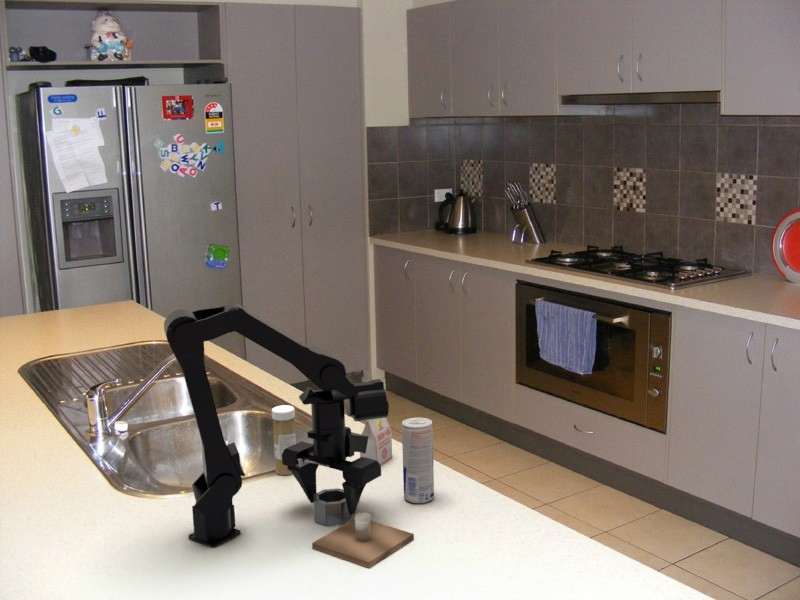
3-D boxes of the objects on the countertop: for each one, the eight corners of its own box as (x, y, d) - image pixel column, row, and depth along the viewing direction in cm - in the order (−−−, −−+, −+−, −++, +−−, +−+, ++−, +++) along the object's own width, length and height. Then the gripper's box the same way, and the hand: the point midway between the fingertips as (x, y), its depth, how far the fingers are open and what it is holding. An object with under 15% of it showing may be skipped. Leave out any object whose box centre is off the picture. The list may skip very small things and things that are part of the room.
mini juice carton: (360, 466, 186) (358, 419, 184) (376, 455, 192) (375, 409, 190) (376, 469, 184) (374, 422, 182) (392, 458, 190) (390, 412, 188)
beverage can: (440, 497, 170) (438, 420, 167) (420, 507, 166) (418, 428, 163) (417, 490, 173) (416, 414, 170) (397, 499, 169) (395, 422, 166)
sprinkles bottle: (275, 468, 186) (271, 405, 184) (298, 466, 187) (294, 403, 184) (274, 476, 182) (271, 412, 179) (297, 475, 182) (294, 410, 180)
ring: (335, 528, 158) (334, 507, 157) (306, 519, 162) (305, 498, 161) (359, 515, 163) (358, 494, 162) (331, 506, 167) (330, 486, 166)
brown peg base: (368, 568, 144) (367, 538, 143) (312, 548, 151) (310, 520, 150) (413, 539, 153) (413, 511, 152) (358, 522, 160) (357, 495, 159)
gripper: (399, 420, 160) (401, 504, 163) (319, 403, 171) (323, 481, 174) (358, 439, 151) (362, 527, 154) (277, 419, 162) (282, 502, 165)
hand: (332, 508), depth 162 cm, fingers open, 9 cm apart
